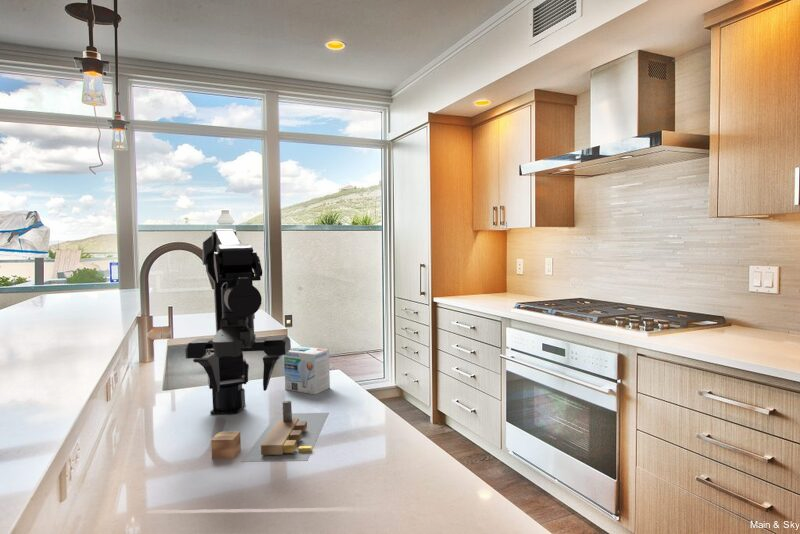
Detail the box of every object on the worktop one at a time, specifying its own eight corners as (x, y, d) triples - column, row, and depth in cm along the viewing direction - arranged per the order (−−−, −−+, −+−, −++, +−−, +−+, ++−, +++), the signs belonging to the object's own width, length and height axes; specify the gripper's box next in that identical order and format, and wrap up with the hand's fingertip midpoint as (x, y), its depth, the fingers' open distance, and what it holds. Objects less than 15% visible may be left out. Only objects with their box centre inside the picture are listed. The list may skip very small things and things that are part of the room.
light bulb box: (284, 390, 137) (282, 350, 136) (300, 383, 143) (298, 345, 142) (316, 394, 132) (314, 354, 131) (331, 387, 138) (329, 348, 137)
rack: (261, 454, 94) (260, 424, 93) (280, 426, 108) (279, 399, 107) (293, 454, 94) (292, 423, 93) (308, 426, 108) (307, 399, 107)
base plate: (241, 463, 92) (241, 461, 92) (277, 415, 117) (277, 413, 117) (307, 462, 92) (307, 460, 92) (328, 414, 117) (328, 412, 117)
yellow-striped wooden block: (212, 461, 93) (211, 439, 93) (220, 451, 97) (219, 431, 97) (233, 460, 93) (232, 439, 93) (241, 451, 97) (240, 431, 97)
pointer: (298, 452, 95) (298, 448, 95) (299, 450, 96) (299, 446, 96) (311, 452, 95) (310, 448, 95) (312, 450, 96) (311, 445, 96)
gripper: (170, 318, 89) (175, 406, 89) (277, 315, 89) (280, 402, 90) (195, 310, 100) (199, 388, 101) (289, 307, 100) (292, 385, 101)
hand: (241, 391), depth 98 cm, fingers open, 9 cm apart
